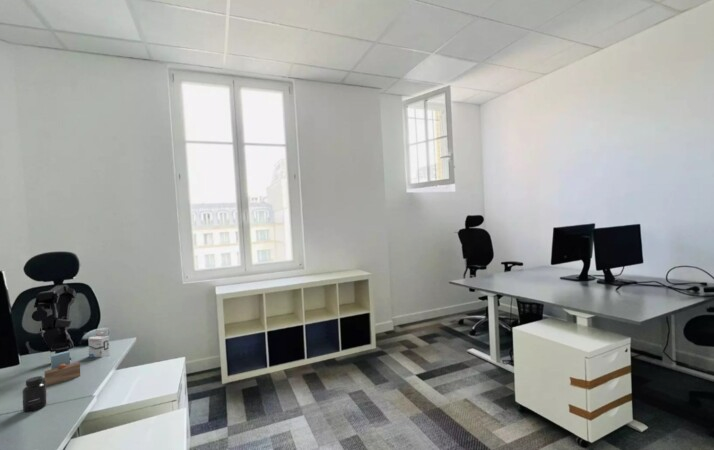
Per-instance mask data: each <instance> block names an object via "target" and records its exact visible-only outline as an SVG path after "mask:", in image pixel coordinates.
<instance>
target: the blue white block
mask: <svg viewBox="0 0 714 450" xmlns="http://www.w3.org/2000/svg"><path fill="white" fill-rule="evenodd" d="M70 355H71V354H70V350H69V351H65V352H61V353H57V354H55V353H54V354H53V353H52V354H51V355H50V369H54V368H58V367H59V365H61V364H66V365H69V364H71V360H70V358H71V356H70Z"/></svg>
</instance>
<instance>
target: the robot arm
mask: <svg viewBox="0 0 714 450" xmlns="http://www.w3.org/2000/svg"><path fill="white" fill-rule="evenodd" d="M75 298H77V292H76V290H75V289H74V288H72V287H70V286H69V285H68V284H58V285H55V286H54V287H53V288H51V289H50V290H47V291H41V292H39V293H38V294H37V295H36V297H35V301H34V305H33V308H34V309H35V308H36V310H34V311H33V312H32V314H31V318H32V320H33V321H35V322H40V326H38V331H39V332H41V333H40V336H41V337H42V338H43V341H44V342H45V343H46V345H47V347H48V348H49V352H50V353H54V354H57V353H61V352H65V351H69V352H70V350H71V349H74V342H73V340H72V339H71V335H70V334H69V332H68V328H70V326H71V323H72V320H71V319H69V318H70V312H71V311H70V310H71V306H72V305H73V304H74V303H75V300H76V299H75ZM57 304H58V306H59V307H58V315H57ZM71 360H72V358H71V357H70V361H71Z"/></svg>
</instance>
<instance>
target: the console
mask: <svg viewBox="0 0 714 450" xmlns="http://www.w3.org/2000/svg"><path fill="white" fill-rule="evenodd" d="M43 372H44V377H43V383H45V384H46V387H48V386H51V385H55V384H59V383H61V382H65V381H68V380H72V379H75V378H78V377H81V363H80V362H79V361H75V362H73V363H70V364H69V365H66V364H61V365H59V367H58V368H54V369H51V368H50V369H47V370H45V371H43Z"/></svg>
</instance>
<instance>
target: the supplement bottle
mask: <svg viewBox="0 0 714 450" xmlns="http://www.w3.org/2000/svg"><path fill="white" fill-rule="evenodd" d="M43 378H44V377H43V376H42V375H38V376H32V377H29V378H27V379H26V380H25V387H24V388H23V389H22V412H24V413H33V412H36V411H39V410H41V409H43V408H44V407H46V405H47V386H46V384H45V383H44V380H43Z"/></svg>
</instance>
